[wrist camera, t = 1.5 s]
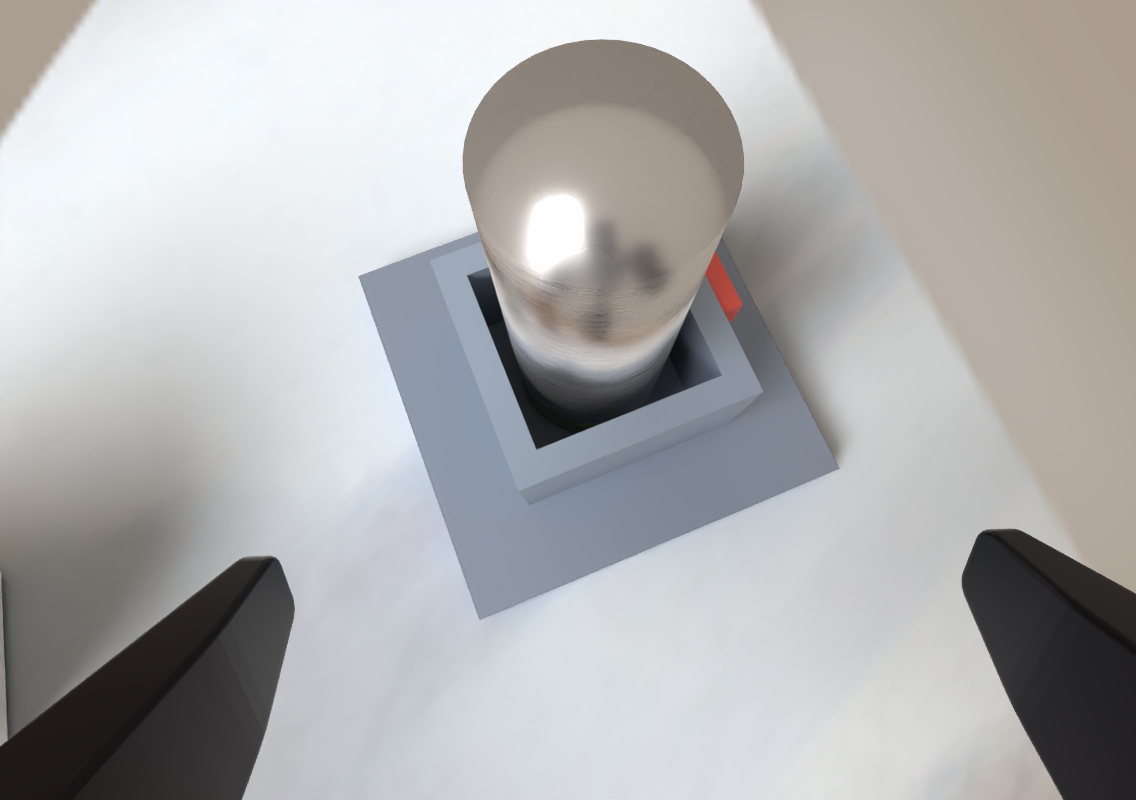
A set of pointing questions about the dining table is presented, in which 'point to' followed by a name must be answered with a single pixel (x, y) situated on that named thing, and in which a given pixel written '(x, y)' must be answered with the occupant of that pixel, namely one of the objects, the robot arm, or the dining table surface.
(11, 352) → the dining table surface
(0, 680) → the small box
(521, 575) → the jack base
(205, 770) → the robot arm
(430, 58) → the dining table surface
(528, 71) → the cylinder
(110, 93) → the dining table surface
